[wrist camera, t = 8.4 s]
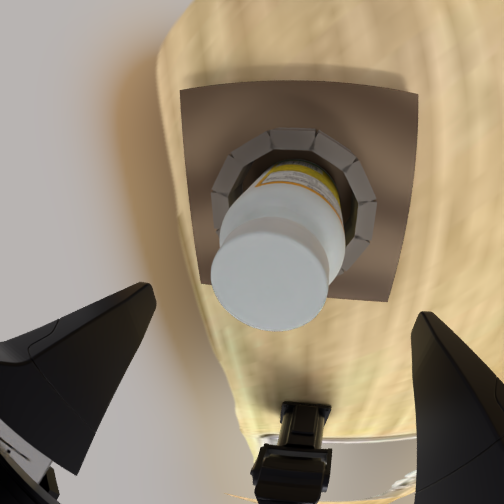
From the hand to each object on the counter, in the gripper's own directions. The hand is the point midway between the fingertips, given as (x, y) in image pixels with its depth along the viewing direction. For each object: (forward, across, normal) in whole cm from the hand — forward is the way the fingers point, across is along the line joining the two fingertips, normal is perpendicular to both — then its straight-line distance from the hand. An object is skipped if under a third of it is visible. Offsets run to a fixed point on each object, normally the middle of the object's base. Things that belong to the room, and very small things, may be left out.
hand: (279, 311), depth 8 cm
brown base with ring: (+12, 0, 0) cm, 12 cm away
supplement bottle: (+11, 0, 0) cm, 11 cm away
